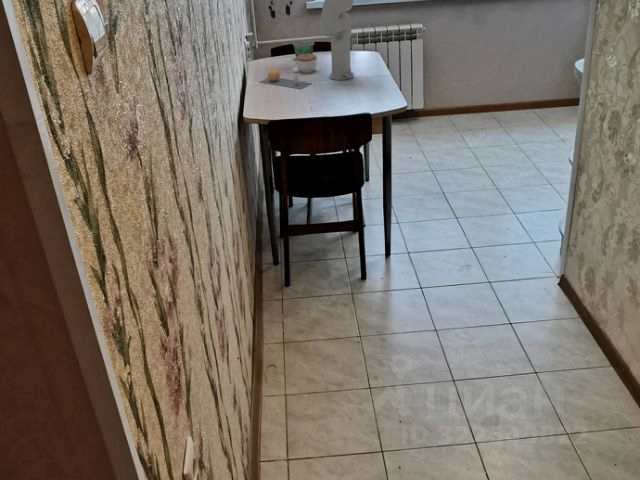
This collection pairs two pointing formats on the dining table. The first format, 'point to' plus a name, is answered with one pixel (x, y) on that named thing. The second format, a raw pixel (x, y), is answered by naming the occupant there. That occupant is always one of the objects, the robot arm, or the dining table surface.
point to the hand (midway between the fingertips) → (280, 16)
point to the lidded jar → (306, 62)
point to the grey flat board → (286, 83)
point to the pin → (296, 76)
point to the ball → (273, 75)
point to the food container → (303, 47)
